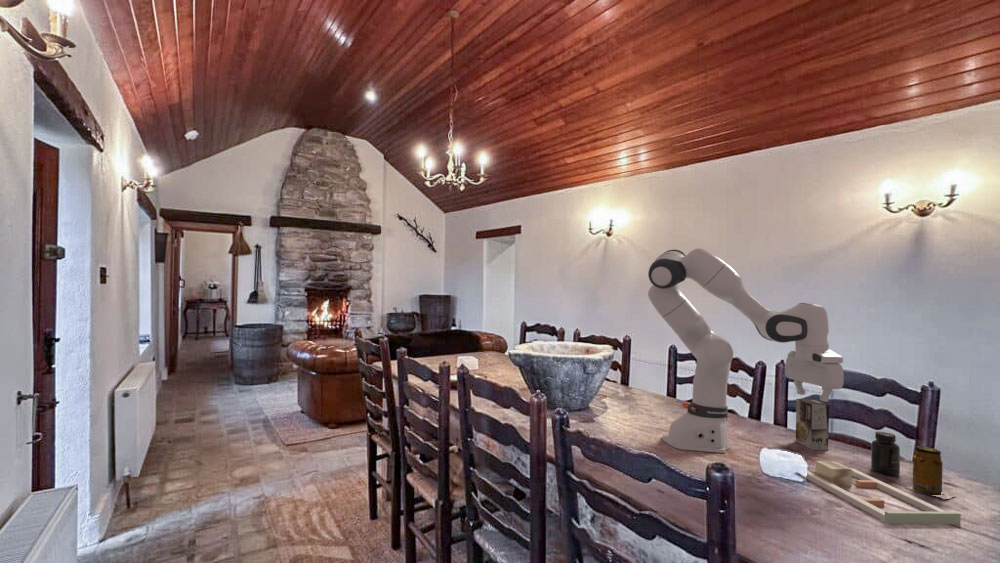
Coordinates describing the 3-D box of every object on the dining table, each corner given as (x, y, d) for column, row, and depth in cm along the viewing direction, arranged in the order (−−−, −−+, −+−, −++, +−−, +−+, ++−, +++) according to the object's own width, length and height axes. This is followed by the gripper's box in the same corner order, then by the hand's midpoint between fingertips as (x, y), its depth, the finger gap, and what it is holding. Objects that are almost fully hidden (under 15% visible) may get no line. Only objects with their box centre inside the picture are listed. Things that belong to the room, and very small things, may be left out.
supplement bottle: (895, 471, 143) (895, 432, 143) (903, 478, 137) (904, 438, 137) (867, 466, 146) (868, 429, 146) (874, 474, 140) (875, 434, 140)
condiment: (918, 484, 133) (918, 443, 133) (957, 497, 125) (957, 453, 125) (905, 488, 130) (906, 446, 130) (944, 501, 122) (945, 456, 122)
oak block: (831, 486, 129) (831, 468, 129) (815, 477, 135) (815, 460, 135) (851, 486, 129) (851, 469, 130) (834, 478, 135) (834, 461, 135)
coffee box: (829, 450, 160) (830, 404, 161) (810, 449, 160) (812, 403, 161) (812, 442, 169) (813, 398, 170) (794, 441, 170) (795, 397, 170)
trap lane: (888, 523, 108) (888, 513, 108) (795, 472, 138) (795, 464, 138) (960, 524, 109) (960, 513, 109) (852, 473, 140) (853, 465, 140)
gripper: (779, 350, 155) (779, 390, 155) (828, 358, 135) (828, 405, 134) (796, 350, 156) (797, 390, 155) (847, 358, 135) (848, 405, 135)
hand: (812, 397), depth 145 cm, fingers open, 8 cm apart
